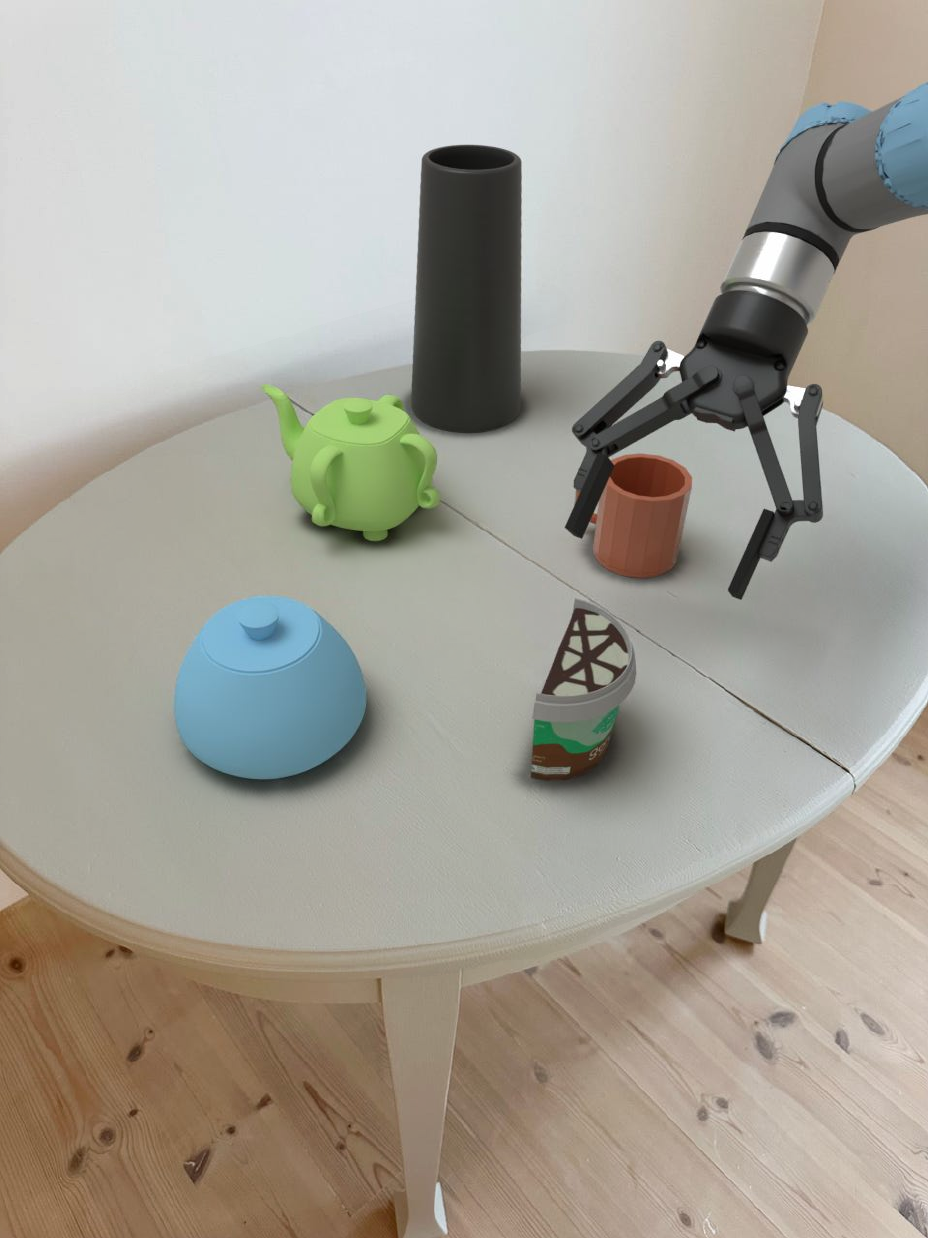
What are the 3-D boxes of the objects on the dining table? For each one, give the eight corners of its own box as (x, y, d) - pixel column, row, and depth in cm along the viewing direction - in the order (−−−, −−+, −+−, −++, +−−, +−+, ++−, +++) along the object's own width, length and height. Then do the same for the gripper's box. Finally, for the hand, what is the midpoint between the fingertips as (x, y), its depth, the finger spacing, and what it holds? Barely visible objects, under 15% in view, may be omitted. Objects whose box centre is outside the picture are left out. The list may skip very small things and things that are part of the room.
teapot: (287, 562, 94) (273, 450, 86) (273, 485, 105) (259, 379, 96) (446, 541, 97) (447, 431, 89) (417, 468, 108) (416, 364, 100)
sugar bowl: (293, 823, 70) (276, 713, 63) (140, 746, 76) (107, 636, 68) (402, 697, 80) (398, 589, 73) (260, 637, 86) (243, 531, 78)
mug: (689, 546, 97) (706, 470, 92) (655, 588, 92) (669, 510, 86) (590, 510, 102) (600, 435, 96) (552, 548, 97) (559, 472, 91)
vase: (388, 407, 119) (380, 156, 100) (459, 370, 127) (463, 133, 108) (473, 444, 112) (480, 184, 93) (542, 403, 120) (561, 156, 102)
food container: (604, 813, 71) (621, 720, 65) (525, 791, 73) (534, 698, 66) (636, 702, 80) (654, 611, 74) (565, 684, 82) (576, 593, 75)
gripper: (927, 373, 72) (812, 631, 72) (627, 295, 82) (527, 521, 82) (934, 329, 65) (807, 615, 65) (606, 250, 75) (497, 497, 75)
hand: (650, 563), depth 74 cm, fingers open, 13 cm apart
